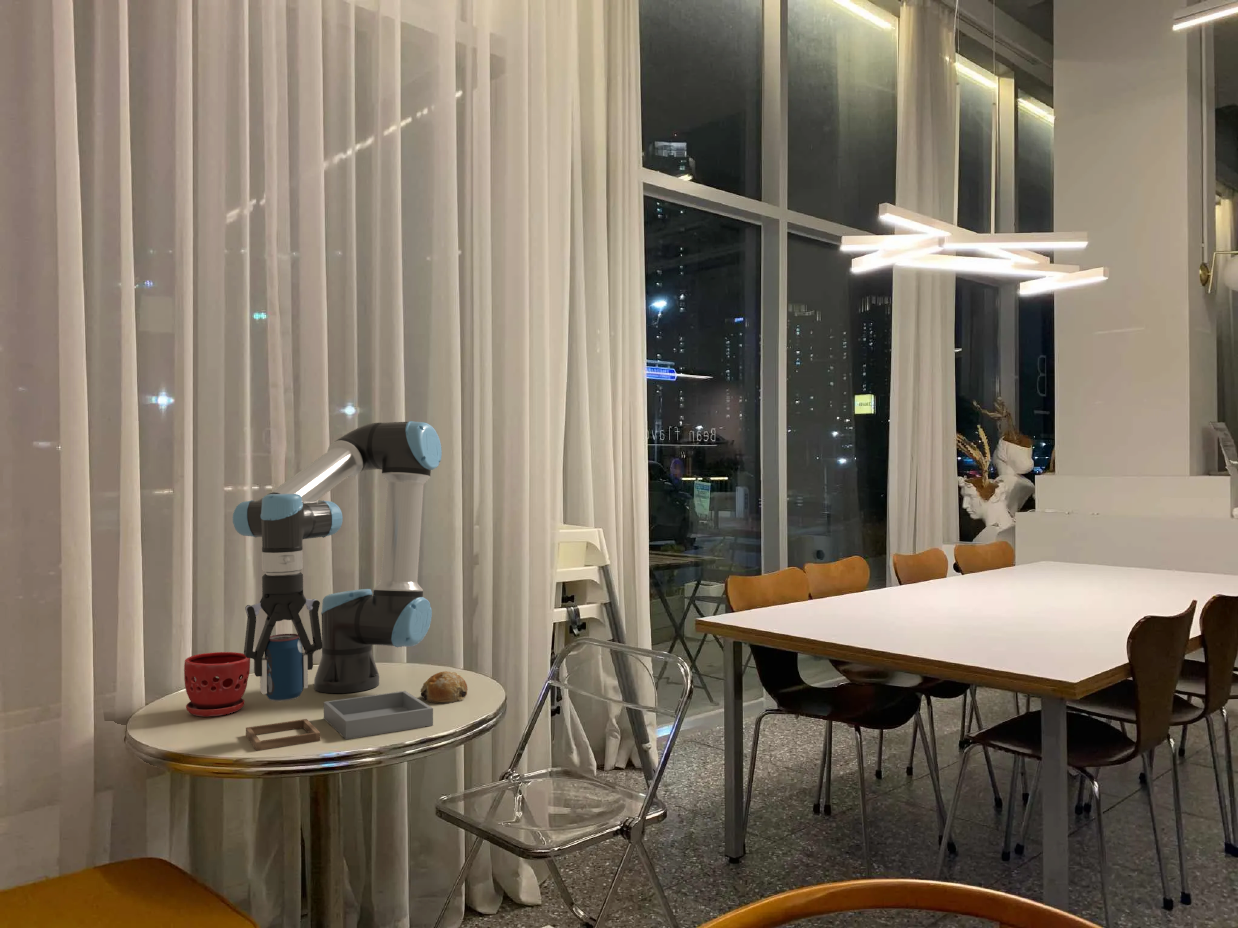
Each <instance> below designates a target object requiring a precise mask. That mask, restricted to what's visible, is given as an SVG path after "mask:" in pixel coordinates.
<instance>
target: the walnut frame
mask: <svg viewBox="0 0 1238 928" xmlns="http://www.w3.org/2000/svg"><path fill="white" fill-rule="evenodd" d="M297 729H298V730H299V729H303V730H305V731H306V733H303V734H296V735H290V736H284V737H283V736H282V737H277V738H269V739H264V740H260V738H259V737H258V735H263V734H270V733H279V732H283V731H291V730H297ZM257 734H258V735H257ZM245 736H246V738H247V739H248V741H249V742H250V744H251V745H252V746H253V748H254V750H255V751H262V750H269V749H276V748H282V747H288V746H295V745H300V744H306V743H312V742H313V743H314V742H319V741H321V732H320V731H319V730H318V729H317V728H316V727H315V725H313V724H312V722H310V721H309V719H307V718H305V719H304V718H303V719H297V720H291V721H283V722H276V723H269V724H260V725H255V726H248V727H245Z"/></svg>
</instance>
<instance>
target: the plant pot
mask: <svg viewBox="0 0 1238 928" xmlns="http://www.w3.org/2000/svg"><path fill="white" fill-rule="evenodd" d="M183 665H184V666H183V667H184V668H183V671H184V673H183V675H184V677H183V681H184V686H185V692H186V694H187V697H188V699H189V701H190V702H188V703H186V705H185V709H186V711H187V712H188V713H189V714H191V715H193V716H195V717H196V716H197V717H202V718H204V717H205V718H208V717H209V718H210V717H220V716H222V717H223V716H226V714H227V715H231V714H233V712H234V713H236V712H238V711H239V710H241V709H242V708H243V707H244V705H245V699H244V698H243V696H244V694H245V692H246V690H247V688H248V687H247V686H248V679H249V676H250V671H251V658H247V657H246V656H245V655H244V652H242V653H241V652H236V651H235V652H233V651H219V652H205V653H199V654H194V655H192V656H189V657H187V658H185V660H184V664H183ZM230 713H231V714H230Z"/></svg>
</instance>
